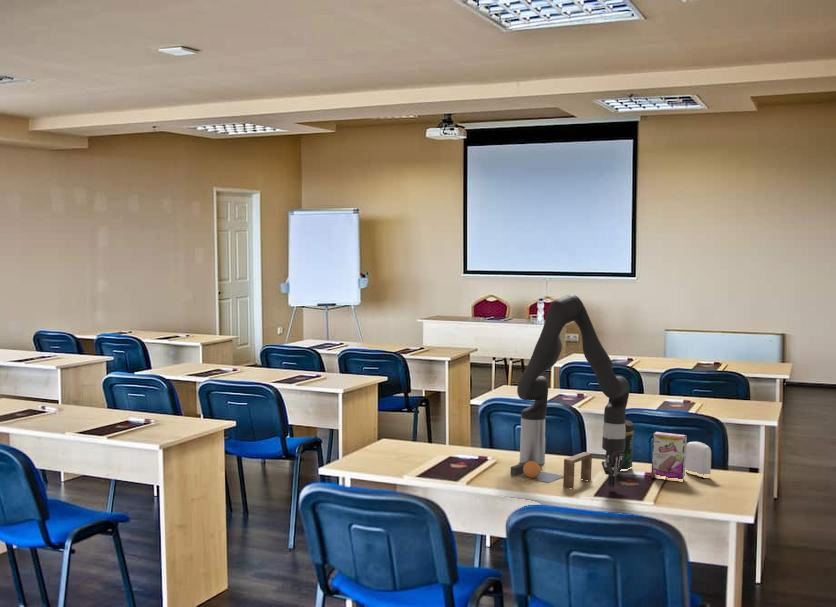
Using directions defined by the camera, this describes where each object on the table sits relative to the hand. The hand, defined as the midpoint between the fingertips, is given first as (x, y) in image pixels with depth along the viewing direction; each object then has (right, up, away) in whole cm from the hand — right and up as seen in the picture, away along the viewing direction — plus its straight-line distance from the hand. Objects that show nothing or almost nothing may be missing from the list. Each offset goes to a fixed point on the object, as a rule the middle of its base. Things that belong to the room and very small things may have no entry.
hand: (612, 486), depth 291 cm
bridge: (-10, -1, +8) cm, 13 cm away
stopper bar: (-28, 0, +22) cm, 36 cm away
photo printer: (+37, -1, +24) cm, 44 cm away
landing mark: (-21, 0, +17) cm, 27 cm away
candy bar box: (+24, -1, +17) cm, 29 cm away
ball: (-25, +3, +14) cm, 29 cm away
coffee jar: (+10, 0, +30) cm, 32 cm away
